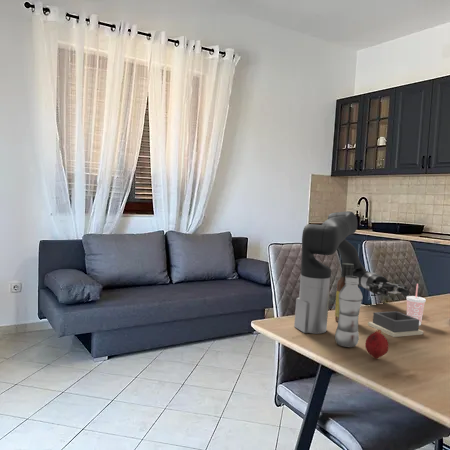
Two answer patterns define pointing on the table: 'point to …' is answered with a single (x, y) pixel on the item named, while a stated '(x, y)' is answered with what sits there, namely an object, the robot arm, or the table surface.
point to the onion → (376, 344)
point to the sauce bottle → (342, 284)
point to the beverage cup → (415, 306)
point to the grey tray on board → (395, 324)
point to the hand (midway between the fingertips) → (397, 293)
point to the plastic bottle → (349, 313)
